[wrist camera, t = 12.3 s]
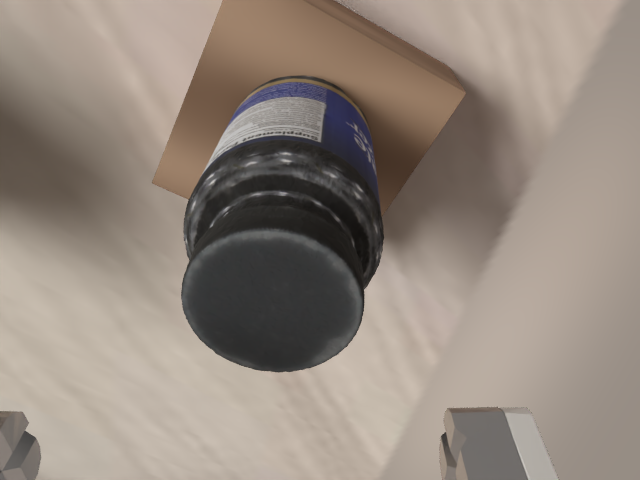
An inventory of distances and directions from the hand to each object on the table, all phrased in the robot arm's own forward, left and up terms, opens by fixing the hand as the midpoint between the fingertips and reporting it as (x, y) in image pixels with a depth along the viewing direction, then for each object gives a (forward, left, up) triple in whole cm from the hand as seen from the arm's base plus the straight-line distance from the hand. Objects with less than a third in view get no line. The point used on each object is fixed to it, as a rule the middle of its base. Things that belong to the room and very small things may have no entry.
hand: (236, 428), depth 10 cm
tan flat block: (0, 0, -19) cm, 19 cm away
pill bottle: (0, 0, -15) cm, 15 cm away
